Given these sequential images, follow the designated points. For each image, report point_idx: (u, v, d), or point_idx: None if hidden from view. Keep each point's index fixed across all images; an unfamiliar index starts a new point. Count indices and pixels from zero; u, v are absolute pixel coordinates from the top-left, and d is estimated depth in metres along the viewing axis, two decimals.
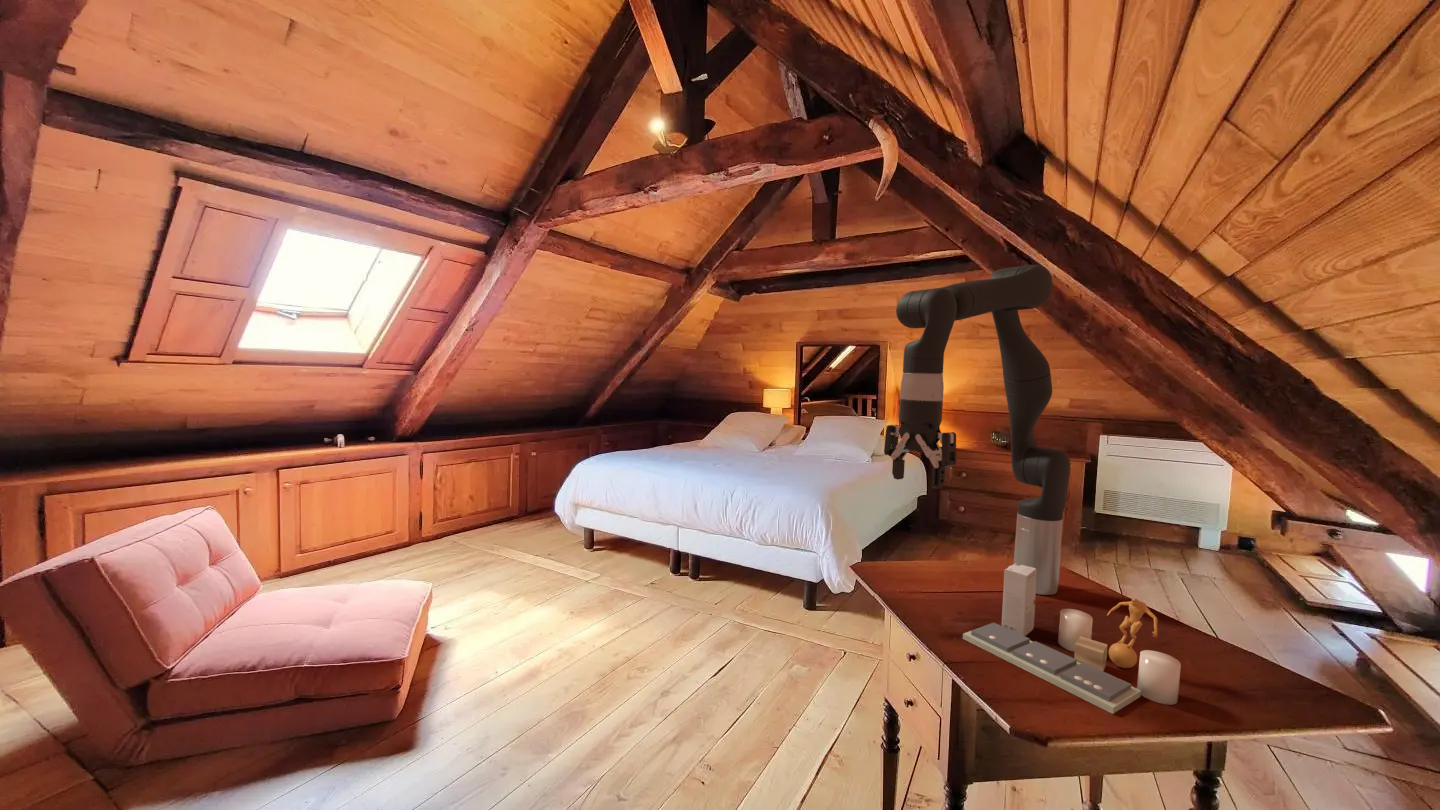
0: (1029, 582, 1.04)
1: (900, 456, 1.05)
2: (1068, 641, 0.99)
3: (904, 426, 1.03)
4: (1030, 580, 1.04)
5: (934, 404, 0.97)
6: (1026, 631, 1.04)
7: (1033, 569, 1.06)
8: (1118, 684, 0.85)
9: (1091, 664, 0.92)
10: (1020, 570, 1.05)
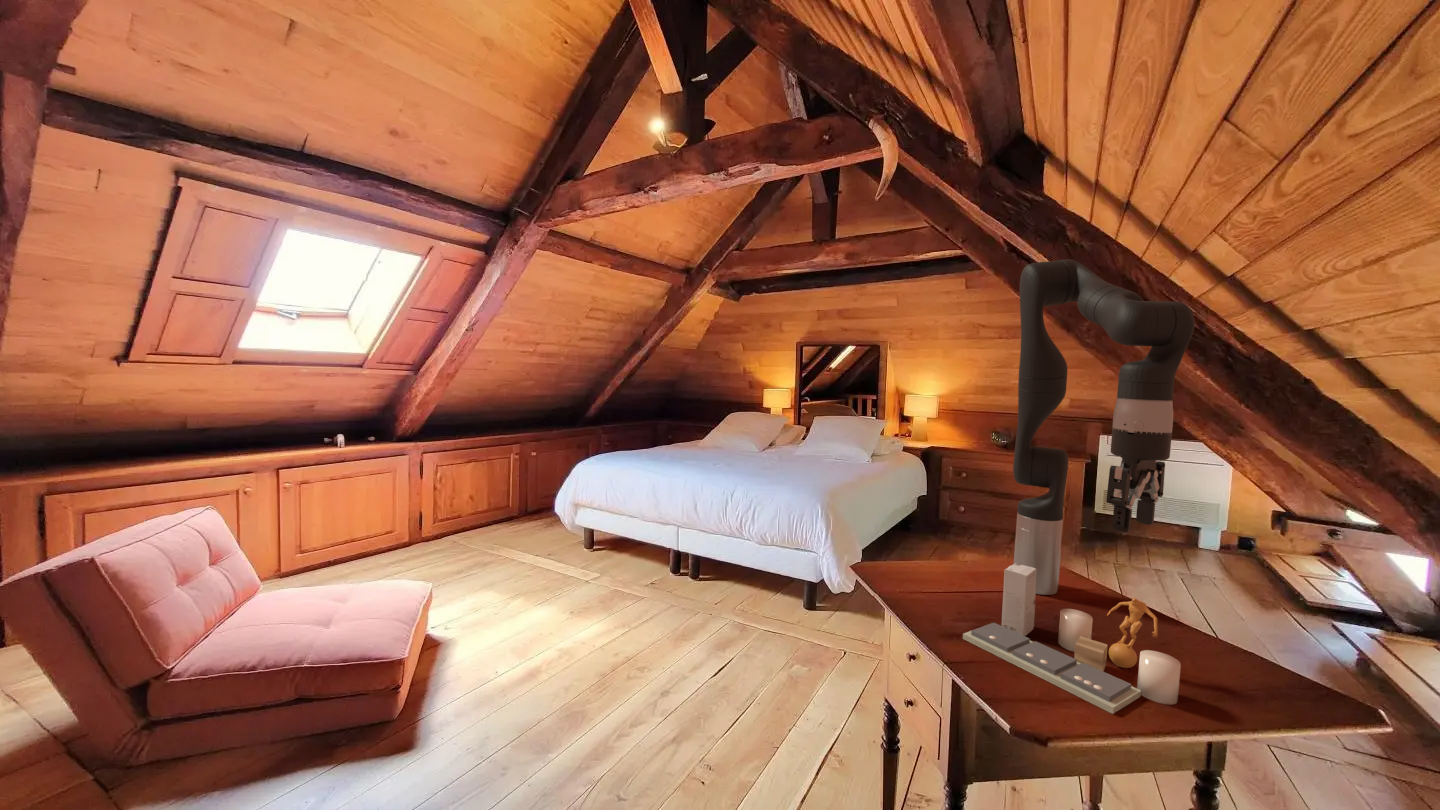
0: (1029, 582, 1.04)
1: None
2: (1068, 641, 0.99)
3: (1139, 465, 0.84)
4: (1030, 580, 1.04)
5: None
6: (1026, 631, 1.04)
7: (1033, 569, 1.06)
8: (1118, 684, 0.85)
9: (1091, 664, 0.92)
10: (1020, 570, 1.05)
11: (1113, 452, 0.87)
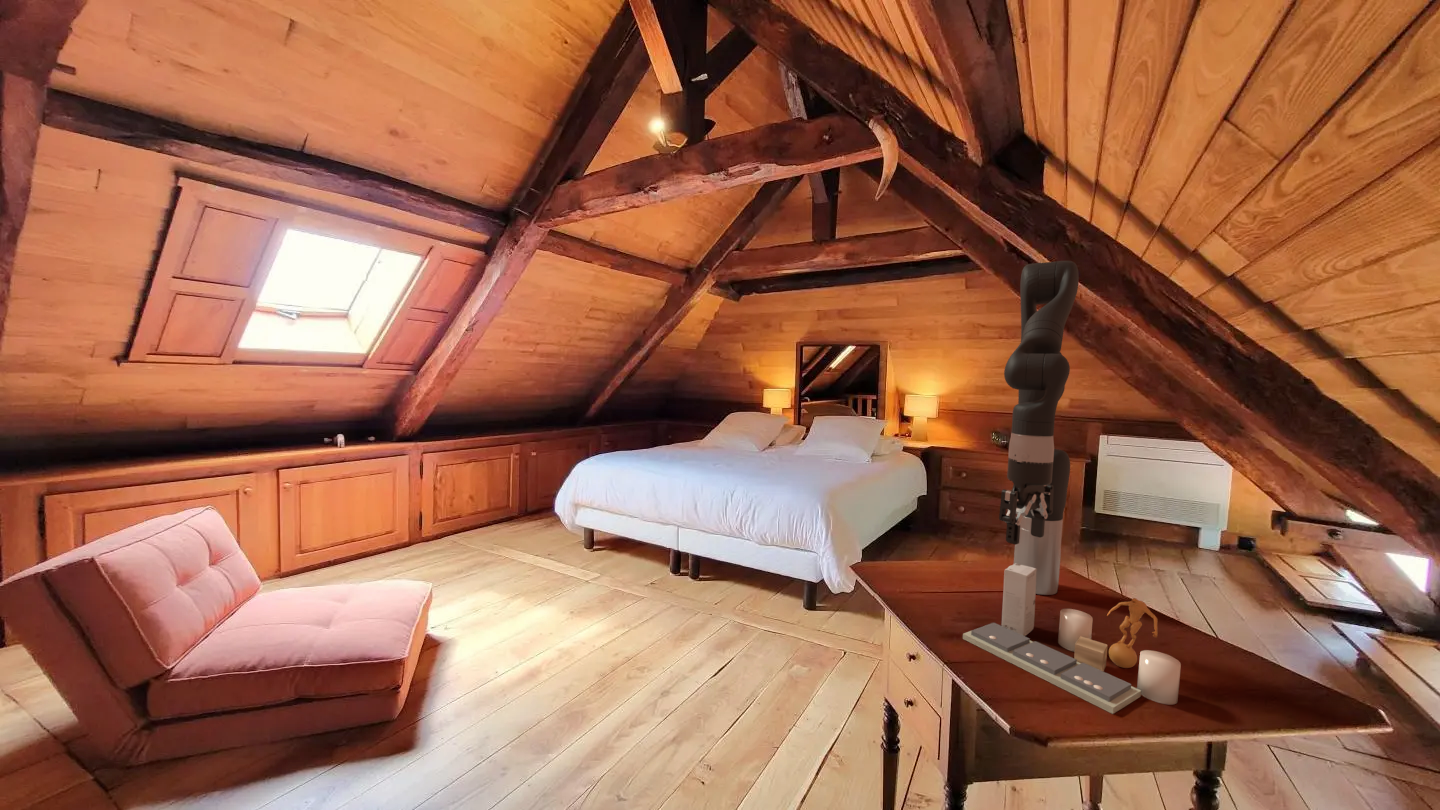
0: (1029, 582, 1.04)
1: None
2: (1068, 641, 0.99)
3: (1026, 489, 1.02)
4: (1030, 580, 1.04)
5: None
6: (1026, 631, 1.04)
7: (1033, 569, 1.06)
8: (1118, 684, 0.85)
9: (1091, 664, 0.92)
10: (1020, 570, 1.05)
11: (1008, 477, 1.05)
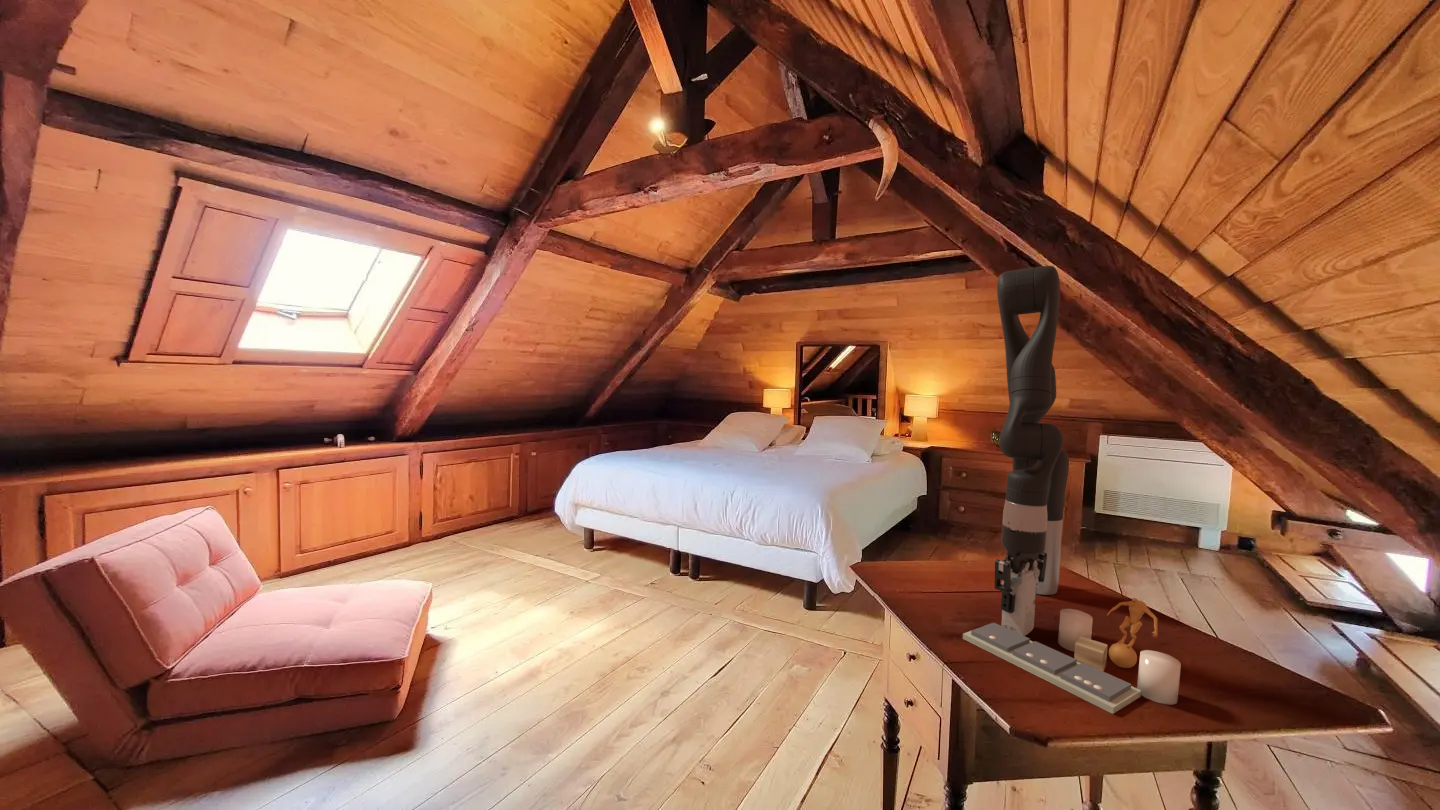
0: (1029, 582, 1.04)
1: None
2: (1069, 641, 0.99)
3: (1019, 556, 1.03)
4: (1030, 580, 1.04)
5: None
6: (1026, 631, 1.04)
7: None
8: (1118, 684, 0.85)
9: (1091, 664, 0.92)
10: None
11: (1002, 544, 1.06)
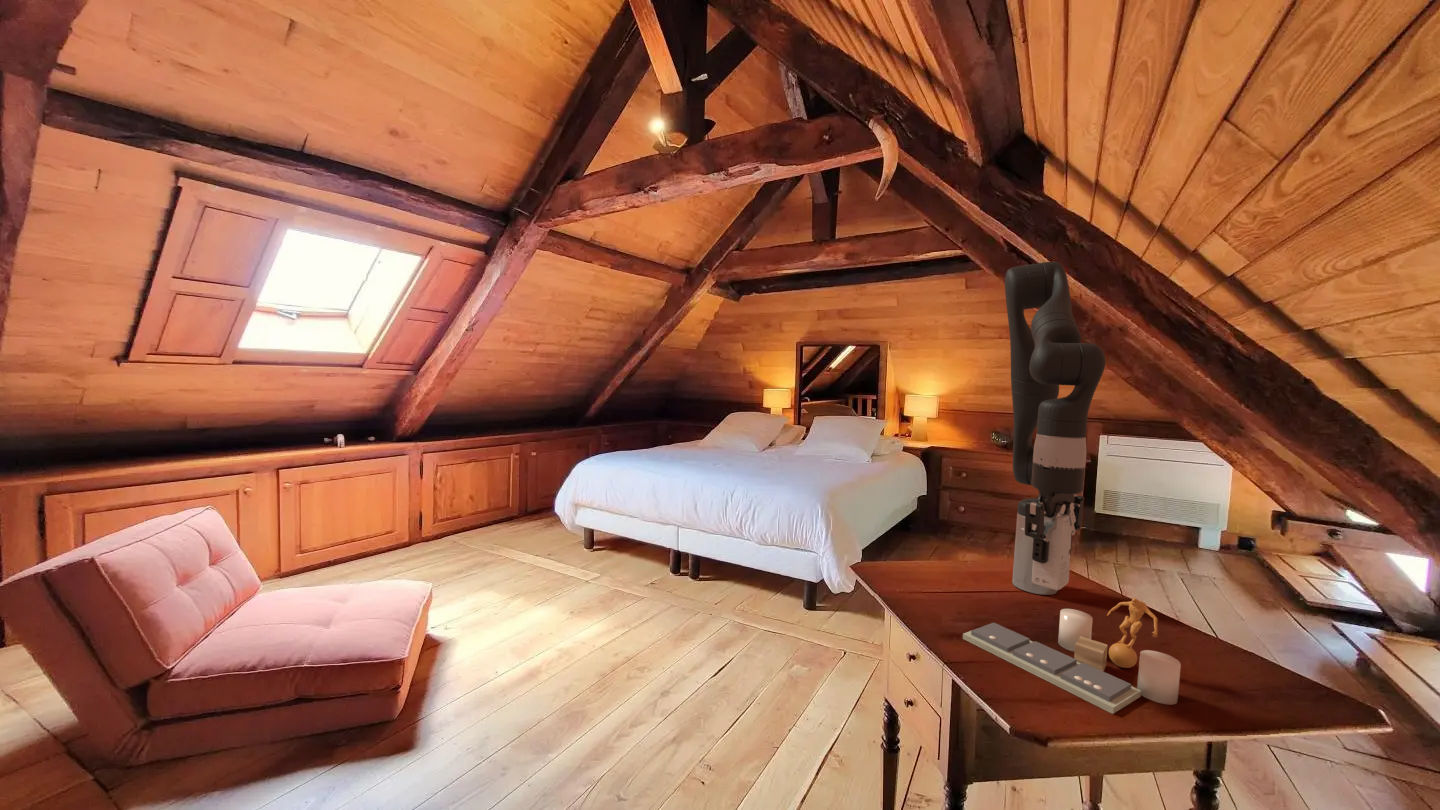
0: (1064, 527, 0.90)
1: None
2: (1069, 641, 0.99)
3: (1054, 497, 0.89)
4: (1065, 525, 0.90)
5: None
6: (1062, 584, 0.90)
7: None
8: (1118, 684, 0.85)
9: (1091, 664, 0.92)
10: None
11: (1032, 485, 0.92)
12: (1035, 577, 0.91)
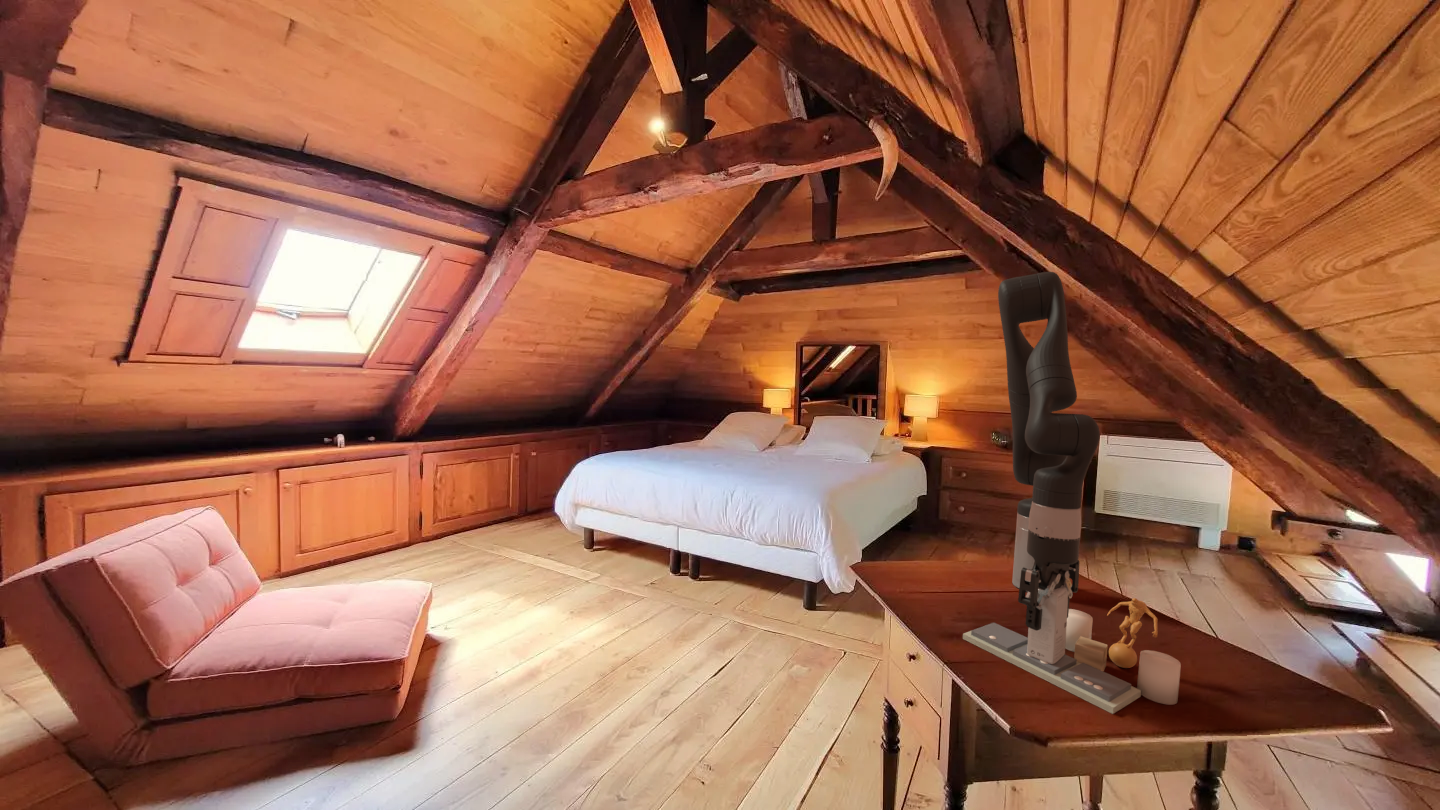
0: (1060, 602, 0.91)
1: None
2: (1069, 641, 0.99)
3: (1049, 567, 0.90)
4: (1061, 599, 0.91)
5: None
6: (1056, 658, 0.91)
7: (1064, 587, 0.93)
8: (1118, 684, 0.85)
9: (1091, 664, 0.92)
10: None
11: (1028, 552, 0.93)
12: (1030, 649, 0.93)
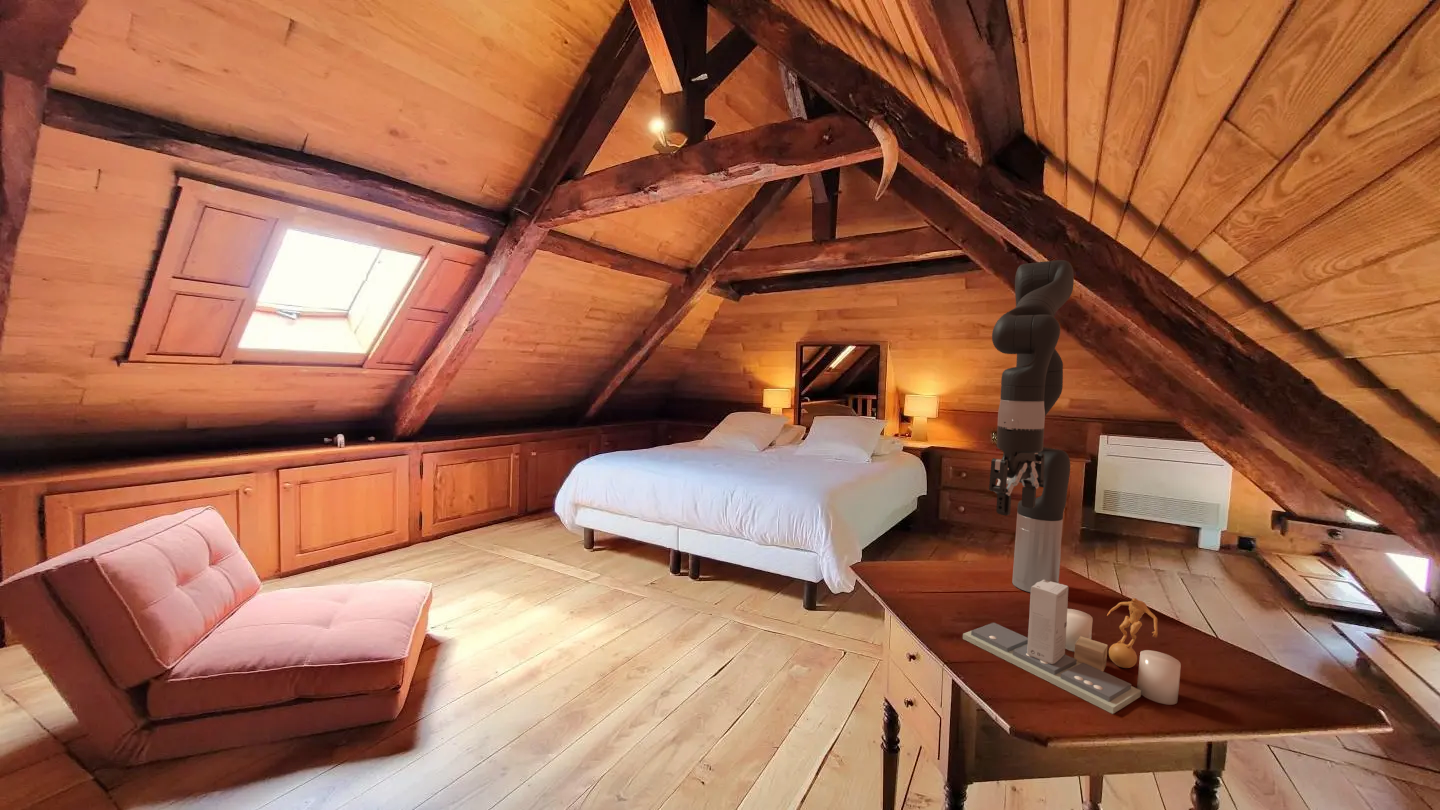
0: (1060, 602, 0.91)
1: None
2: (1069, 641, 0.99)
3: (1017, 457, 0.98)
4: (1061, 599, 0.91)
5: None
6: (1056, 658, 0.91)
7: (1064, 587, 0.93)
8: (1118, 684, 0.85)
9: (1091, 664, 0.92)
10: (1049, 588, 0.92)
11: (997, 446, 1.00)
12: (1030, 649, 0.93)
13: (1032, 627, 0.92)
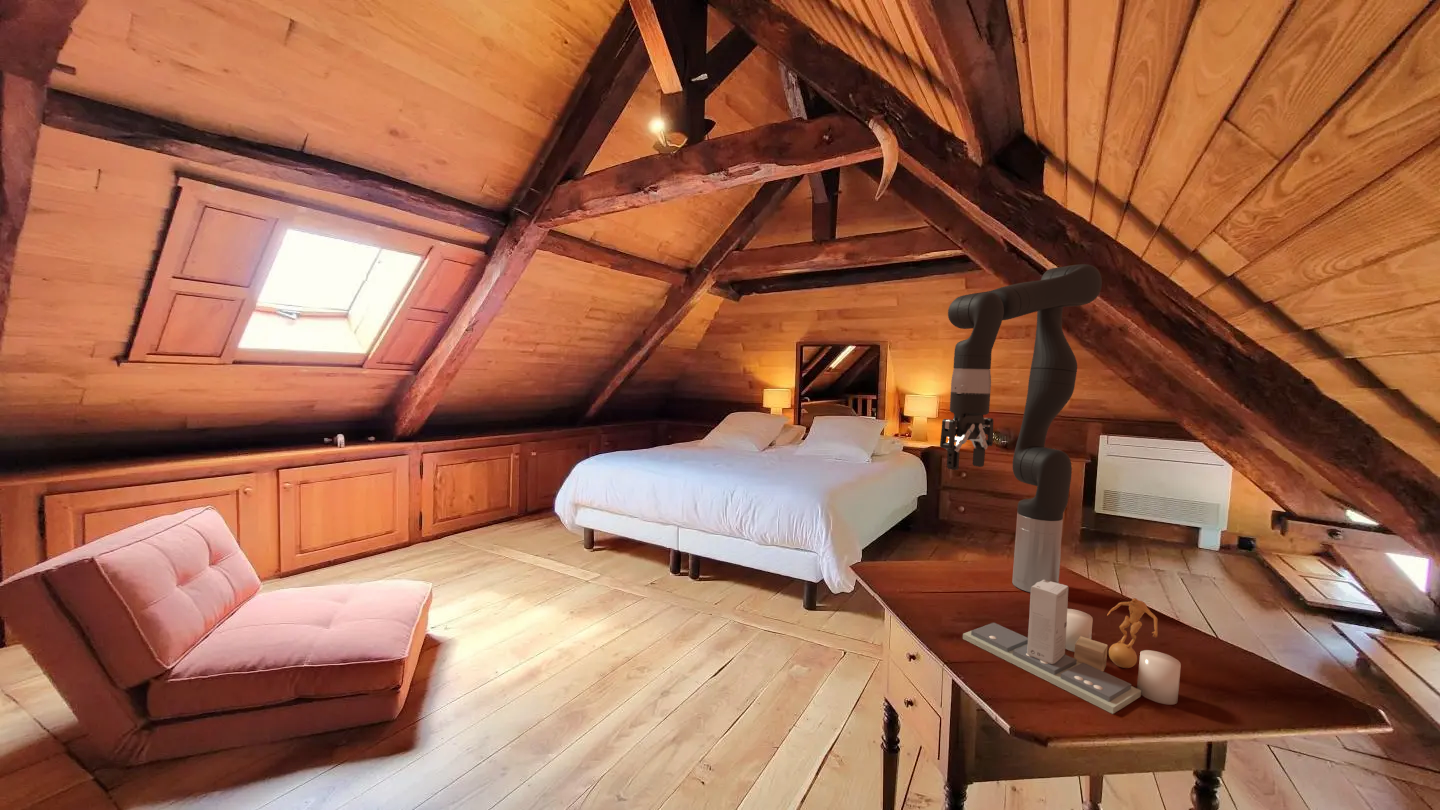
0: (1060, 602, 0.91)
1: None
2: (1069, 641, 0.99)
3: (965, 418, 1.11)
4: (1061, 599, 0.91)
5: None
6: (1056, 658, 0.91)
7: (1064, 587, 0.93)
8: (1118, 684, 0.85)
9: (1091, 664, 0.92)
10: (1049, 588, 0.92)
11: (950, 410, 1.14)
12: (1030, 649, 0.93)
13: (1032, 627, 0.92)
